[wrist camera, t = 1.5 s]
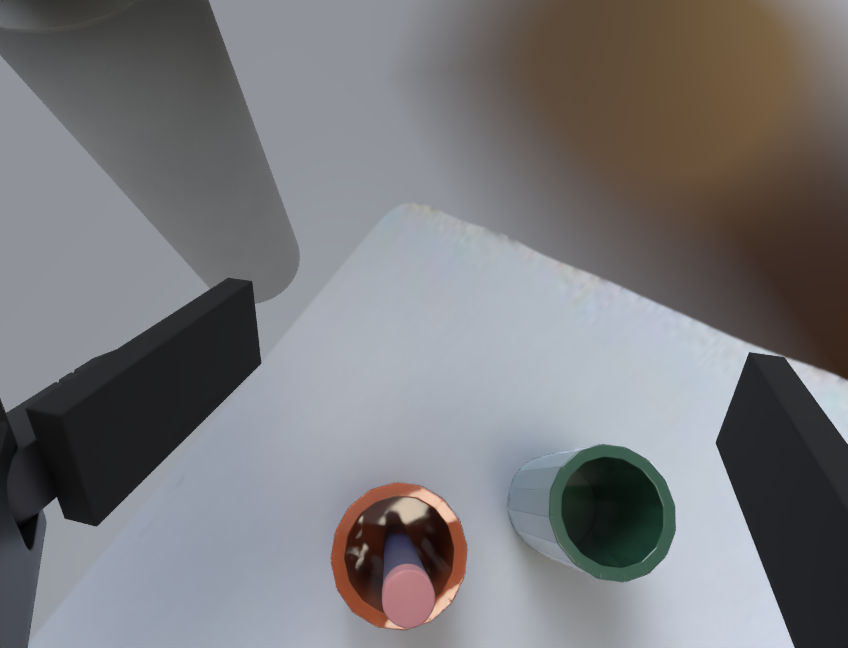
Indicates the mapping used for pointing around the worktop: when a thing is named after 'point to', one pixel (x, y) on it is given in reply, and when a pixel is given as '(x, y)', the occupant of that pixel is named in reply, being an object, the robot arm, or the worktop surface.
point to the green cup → (594, 511)
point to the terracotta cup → (364, 547)
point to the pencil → (405, 581)
